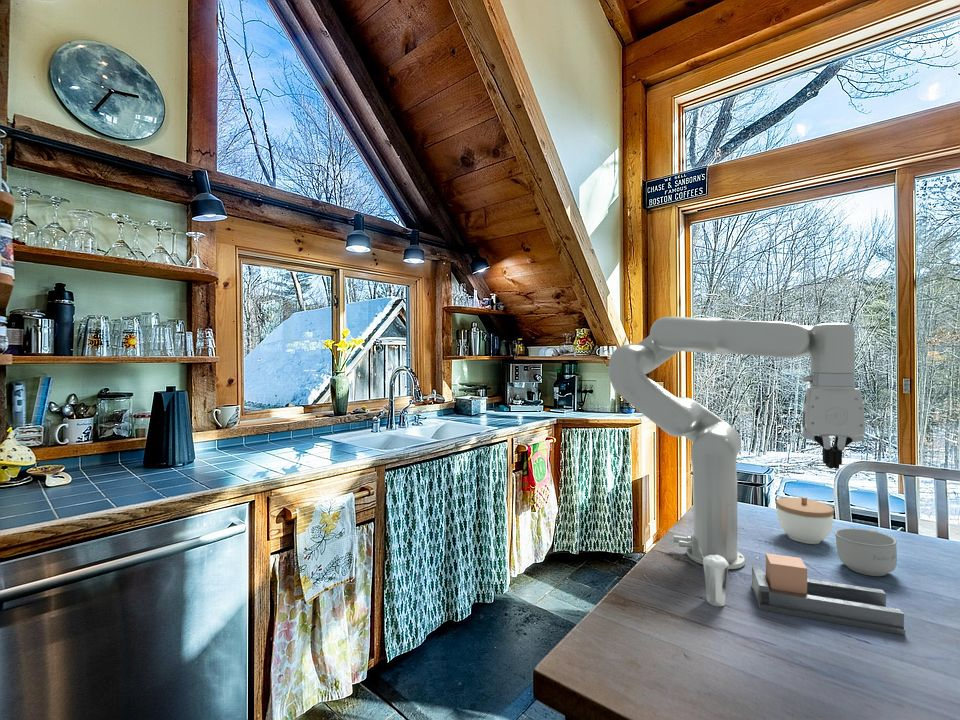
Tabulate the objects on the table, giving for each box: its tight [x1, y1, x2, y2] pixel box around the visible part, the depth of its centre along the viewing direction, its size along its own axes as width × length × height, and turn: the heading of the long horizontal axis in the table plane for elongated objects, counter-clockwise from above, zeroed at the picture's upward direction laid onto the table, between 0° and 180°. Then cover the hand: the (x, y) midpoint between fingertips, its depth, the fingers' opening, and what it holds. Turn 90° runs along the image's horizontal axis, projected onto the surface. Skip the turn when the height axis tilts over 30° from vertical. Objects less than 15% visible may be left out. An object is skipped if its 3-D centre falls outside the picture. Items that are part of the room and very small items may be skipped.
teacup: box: [834, 527, 898, 577], centre depth 106 cm, size 14×11×8 cm
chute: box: [751, 565, 906, 636], centre depth 90 cm, size 22×10×4 cm, turn 68°
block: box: [765, 553, 808, 594], centre depth 92 cm, size 6×5×7 cm
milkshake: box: [699, 548, 729, 608], centre depth 92 cm, size 4×5×10 cm
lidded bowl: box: [775, 496, 835, 545], centre depth 123 cm, size 13×13×11 cm
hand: (832, 467), depth 99 cm, fingers closed
